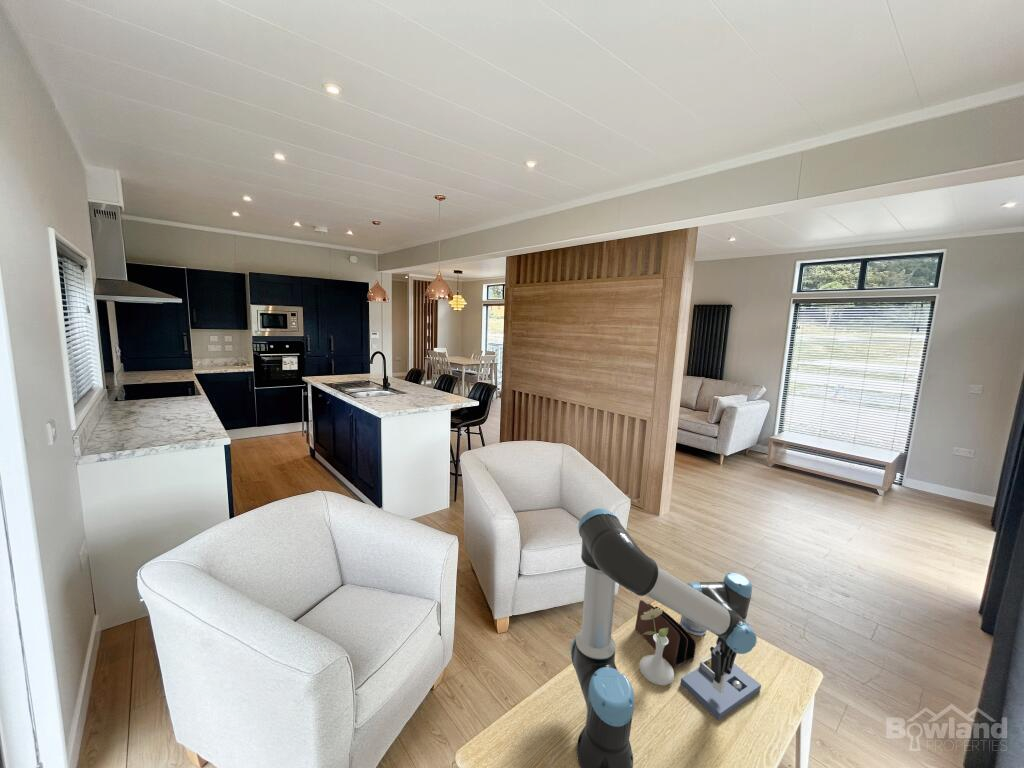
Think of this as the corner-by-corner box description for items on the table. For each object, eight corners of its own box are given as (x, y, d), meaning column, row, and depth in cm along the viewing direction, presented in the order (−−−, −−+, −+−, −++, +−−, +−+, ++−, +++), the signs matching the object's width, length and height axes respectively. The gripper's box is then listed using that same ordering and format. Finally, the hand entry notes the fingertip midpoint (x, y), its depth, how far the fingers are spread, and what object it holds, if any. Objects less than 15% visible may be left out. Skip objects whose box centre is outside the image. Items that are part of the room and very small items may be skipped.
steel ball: (737, 694, 136) (741, 685, 136) (728, 686, 139) (731, 677, 139) (741, 694, 138) (745, 685, 138) (732, 687, 141) (736, 678, 141)
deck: (718, 720, 128) (720, 708, 127) (680, 684, 140) (682, 672, 139) (759, 691, 139) (762, 679, 138) (721, 659, 151) (723, 649, 150)
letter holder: (673, 669, 146) (679, 634, 143) (634, 629, 163) (638, 597, 161) (694, 660, 150) (699, 626, 148) (653, 622, 168) (657, 590, 165)
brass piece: (713, 676, 141) (714, 666, 140) (703, 668, 144) (705, 658, 143) (719, 672, 143) (721, 662, 142) (710, 664, 146) (711, 655, 145)
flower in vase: (668, 662, 148) (677, 599, 144) (677, 691, 137) (687, 624, 133) (631, 657, 150) (638, 595, 145) (637, 685, 138) (645, 619, 134)
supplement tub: (680, 632, 163) (685, 598, 160) (679, 615, 172) (684, 583, 169) (707, 640, 160) (713, 605, 157) (705, 623, 169) (710, 590, 166)
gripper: (729, 639, 122) (715, 707, 127) (754, 625, 129) (741, 690, 133) (706, 621, 129) (694, 687, 133) (731, 609, 135) (719, 672, 139)
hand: (717, 688), depth 133 cm, fingers closed
